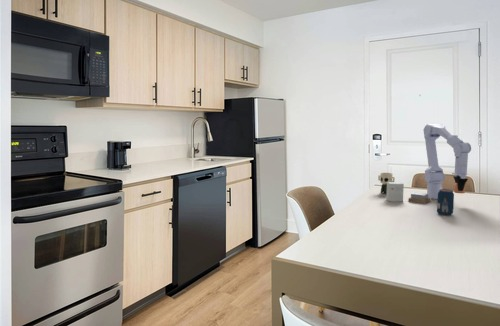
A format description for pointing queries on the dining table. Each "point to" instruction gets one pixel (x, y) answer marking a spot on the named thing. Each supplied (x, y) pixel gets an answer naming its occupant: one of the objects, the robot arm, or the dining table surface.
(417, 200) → the walnut base slab
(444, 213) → the soda can
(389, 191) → the small box
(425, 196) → the grey top slab
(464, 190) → the orange round piece
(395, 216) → the dining table surface
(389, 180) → the big headed toy figurine
